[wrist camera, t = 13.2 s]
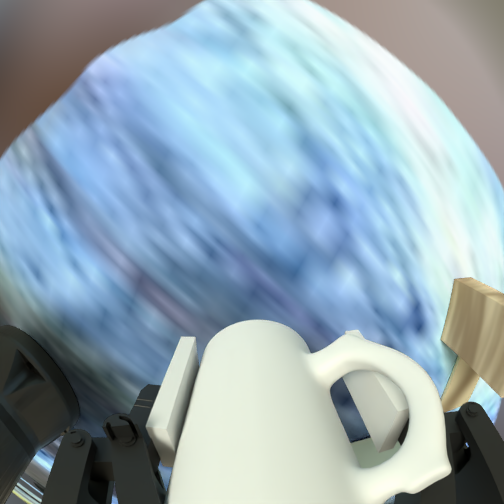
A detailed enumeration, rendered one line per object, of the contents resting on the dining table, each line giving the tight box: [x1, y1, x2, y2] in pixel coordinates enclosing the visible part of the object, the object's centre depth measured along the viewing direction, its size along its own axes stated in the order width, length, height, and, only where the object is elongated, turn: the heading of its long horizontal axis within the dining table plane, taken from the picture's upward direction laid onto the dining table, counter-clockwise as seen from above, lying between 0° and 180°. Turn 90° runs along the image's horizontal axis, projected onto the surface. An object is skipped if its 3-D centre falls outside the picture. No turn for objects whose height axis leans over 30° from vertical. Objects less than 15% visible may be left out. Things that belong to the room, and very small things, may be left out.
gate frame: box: [441, 277, 504, 413], centre depth 16 cm, size 10×25×10 cm, turn 1°
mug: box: [164, 320, 451, 504], centre depth 9 cm, size 10×7×12 cm, turn 127°
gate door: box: [351, 438, 401, 468], centre depth 19 cm, size 12×1×8 cm, turn 99°
